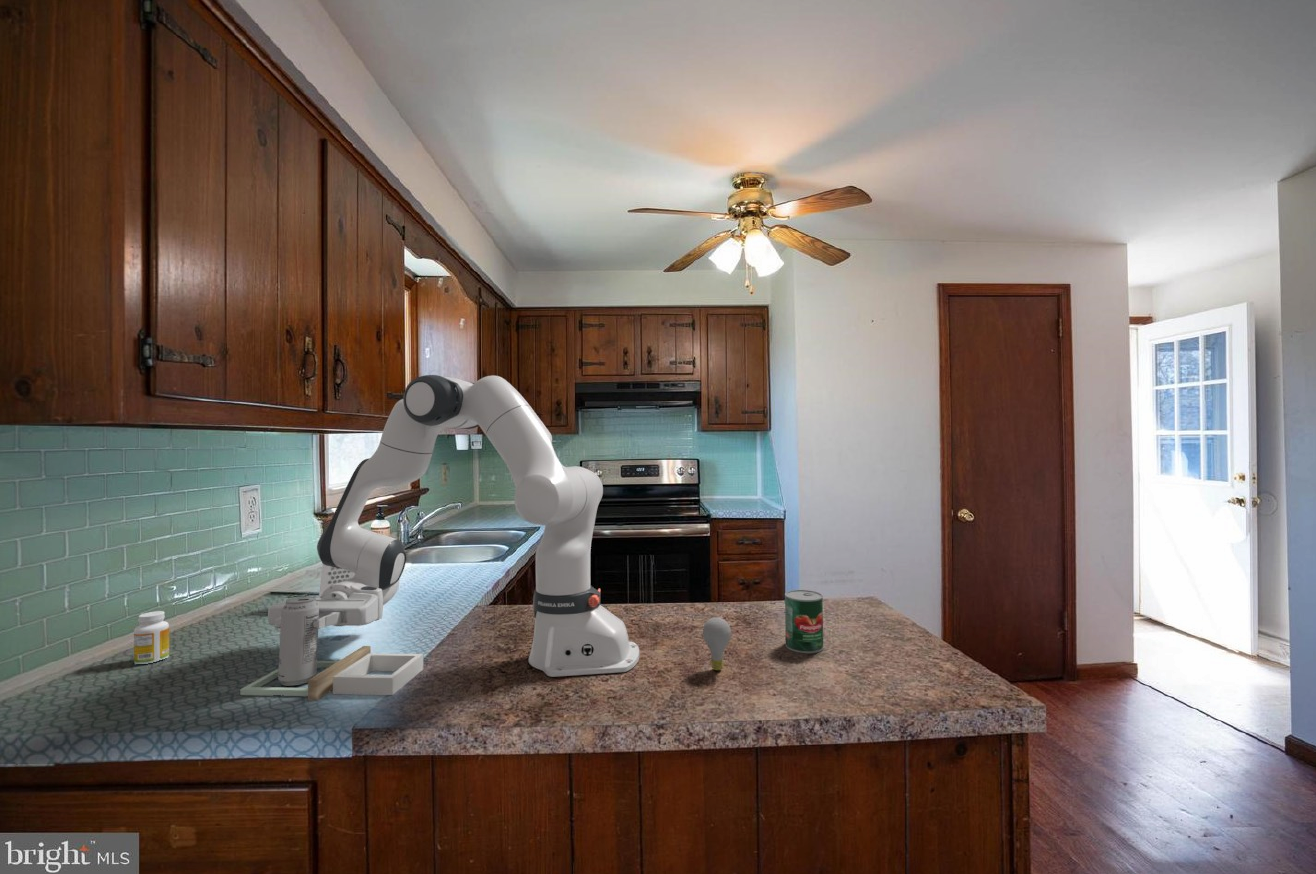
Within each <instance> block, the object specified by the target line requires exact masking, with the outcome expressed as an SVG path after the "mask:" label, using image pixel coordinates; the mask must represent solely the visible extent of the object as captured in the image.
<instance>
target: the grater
mask: <svg viewBox="0 0 1316 874" xmlns="http://www.w3.org/2000/svg"><path fill="white" fill-rule="evenodd" d="M321 565H322V566H321V572H320V573H321V575H320V576H321V577H320V583H319V593H318V598H320V597H321V595H322V593H323V592H324V591H325V590H326V589H327V588H328V587H330V586H332V585H335V584H337V583H340V582H342V581H345V580H348V579H351V578H353V577H354V575H355V573H354V572H351V571H348V570H345V569H340V568H335V567H331V566H326V565H324V564H323V563H322V564H321Z"/></svg>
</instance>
